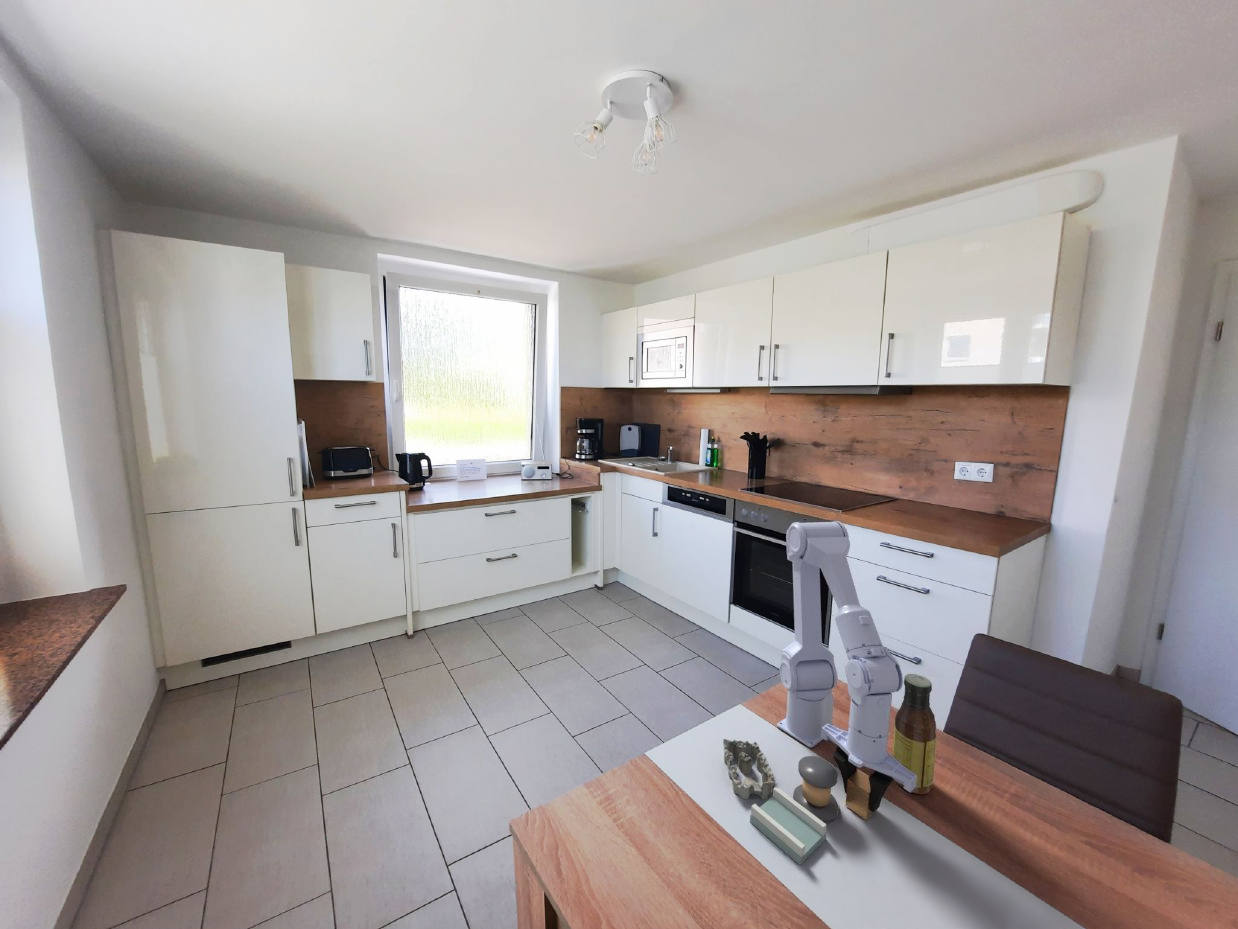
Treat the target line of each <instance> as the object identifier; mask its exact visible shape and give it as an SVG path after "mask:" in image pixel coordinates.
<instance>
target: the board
mask: <svg viewBox="0 0 1238 929" xmlns="http://www.w3.org/2000/svg"><path fill="white" fill-rule="evenodd" d="M749 822H750V823H751V824H752V825H753V826H754V827H755V828H757V829H758V831H760V832H761V833H762V834H763V835H765V836H766V837H767V838H768V839H770V841H771V842H773V844H775V845H776V846H777V847H779V849H781V850H782V851H783V852H784V853H785V854H786V855H787V856H789V857H790V858H791V859H792V860H793V861H794V862H796V863H797V865H799V866H801V865H802V864H803V863H804V862H805V861H806V860H807V859H808V858H809V857H810V856H811V855H812V854H813V853H814V852H815V851H816V850H817V849H818V848H819V847H820V846H821V844H823V842H825V841H826V840H827V823H824V822H822V821H821V820H820V819H818V818H817V817H816V816H815V815H813V814H812V813H811V812H809V811H808V810H807V809H805V808H804V807H803V806H801V805H800V804H799V803H797V802H796V801H795V800H794V799H793V797H791V796H790V795H788V793H786V792H784V791H783V790H782V789H780V788H779V787H777V786H774V788H772V797H770V798H769V799H767V801H766V802H764V803H763V804H762V805H761V806H758V805H757V804H756V803H754V804H752V805H751V807H750V816H749Z"/></svg>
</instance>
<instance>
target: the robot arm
mask: <svg viewBox="0 0 1238 929" xmlns="http://www.w3.org/2000/svg"><path fill="white" fill-rule="evenodd" d="M849 538H850V536H849V532H848V529H847V528H846V527H845V525H844V524H843V523H842V522H841V521H838V520H834V521H820V522H814V521H813V522H798V521H796V522H792V523H791V525H789V527H788V529H787V530H786V536H785V539H786V540H785V541H786V555H787V557H786V558H787V560H788V561H789V562H792V583H793V619H794V623H793V624H794V640H793V641H792V642H790V643H789V644H788V645H787V646H786V647H784V648H783V649H782V650H781V661H780V664H779V675H780V676H779V677H780V681H781V684H782V685H783V687H784V689H786V690H787V698H786V699H787V700H786V702H787V703H786V715H785V716H786V717H785V718H783V719H781V720H780V721H779V722H777V723H776V727H777V728H779V729H780V730H782V731H784V732H785V733H787V734H788V735H789V736H791V737H792V738H794V739H796V740H797V741H799V742H801V743H802V744H804V745H805V746H806V747H808V748H815V746H816V745H818V744H819V743H820V742H822V740H825V741H830V742H832V743H834V744H835V745H836V749H835V751H833V752H832V758H833V761H834V762H835V764H836V766H837V768H838V770H839V773H840V776H841V780H842V784H843V789H844V793H845V795H846V794H847V782H848V778H849V777H850V776H851V775H853V774H854V773H855V772H856V771H857V770H858V768H862V767H866V768H868V769H871V770H873V773H871V774H870V775H868V776H869V783H870V793H871V794H870V803H869V809H870V811H872V812H873V814H874V813H876V811H877V810H878V809H879V808H880V807H881V803H882V800H883V798H884V796H885V794H886V792H887V790H888V788H889V787H890V786H891V784H892V783H893V782H894V781H895V782H896V781H898V782H899V783H901V784H902V785H904V787H903V789H904V790H906V791H907V792H909V793H913V792H912V791H913V789H914V788H915V787H916V782H917V775H915V774H914V773H912V772H911V771H909V770H908V769H907V768H905V767H904V766H903V765H902V764H901V763H900V762H899V761H897V760H896V759H895V758H894V757H893V754H892V755H891V754H890V752H889V751H888V740H889V732H890V719H891V710H892V701H893V693H897V692H900V690H901V689H902V687H903V685H904V676H903V673H902V672H903V671H902V670H901V665H900V663H899V662H898V660H897V659H896V657H894V656H893V654H891V652H890V650H889V648H888V647H887V646H885V647H884V645H883V642H882V640H881V638H880V635H879V632H878V630H877V627H876V624H875V622H874V619H873V617H872V614H871V612H870V611H869V610H868V609H866V608H865V607H863V606H861V604H860V600H859V597H858V594H857V591H856V586H855V582H854V580H853V575H852V572H851V568H850V564H849V562H848V558H847V557H848V555H849V552H850V548H851V541H850V539H849ZM820 570H821V572H822V574H823V577H824V579H825V581H826V584H827V586H828V588H829V590H830V593H831V596H832V598H833V599H834V602H835V605H836V607H837V609H838V610H837V613H836V615H835V617H834V620H835V624H836V627H837V629H838V633H839V634H840V639H841V641H842V645H843V648H844V649H845V650H844V651H845V653H846V657H847V659H848V661H847V662H846V664H845V663H844V672H845V676H846V681H847V691H848V696H849V697H850V706H849V716H848V730H843V729H841V728H838V727H837V726H836V725H835V724H833V718H834V717H833V715H834V714H833V713H834V704H835V703H834V702H835V701H834V700H835V699H834V695H833V691H832V690H833V689H835V688H836V687H837V684H838V680H839V679H838V678H839V677H838V676H839V675H838V671H837V668H836V664H835V659H834V658H835V656H834V654H833V653H832V652H831V650H830V649H829V648H827V647H826V646H825V645H823V639H822V638H823V637H822V610H821V607H822V606H821V578H820V576H821V575H820Z"/></svg>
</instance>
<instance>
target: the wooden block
mask: <svg viewBox="0 0 1238 929" xmlns="http://www.w3.org/2000/svg"><path fill="white" fill-rule="evenodd" d="M869 776H870V775H869V774H867V773H866V772H863V771H862V770H860V769H858V768H857V771H856V772H855V773H854V774H853V775H851V776H850V777H849V778H848V782H847V794H846V793H845V795H846V796H845V807H847V808H849V809H850V810H851V811H853V812H854V813H856V814H857V815H858V816H860V817H861V818H862V819H864V820H865V821H868V820H869V818H871V816H872V815H873V814H874V813H873V812H872V811H870V809H869V803H870V794H871V793H870V783H869Z"/></svg>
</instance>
